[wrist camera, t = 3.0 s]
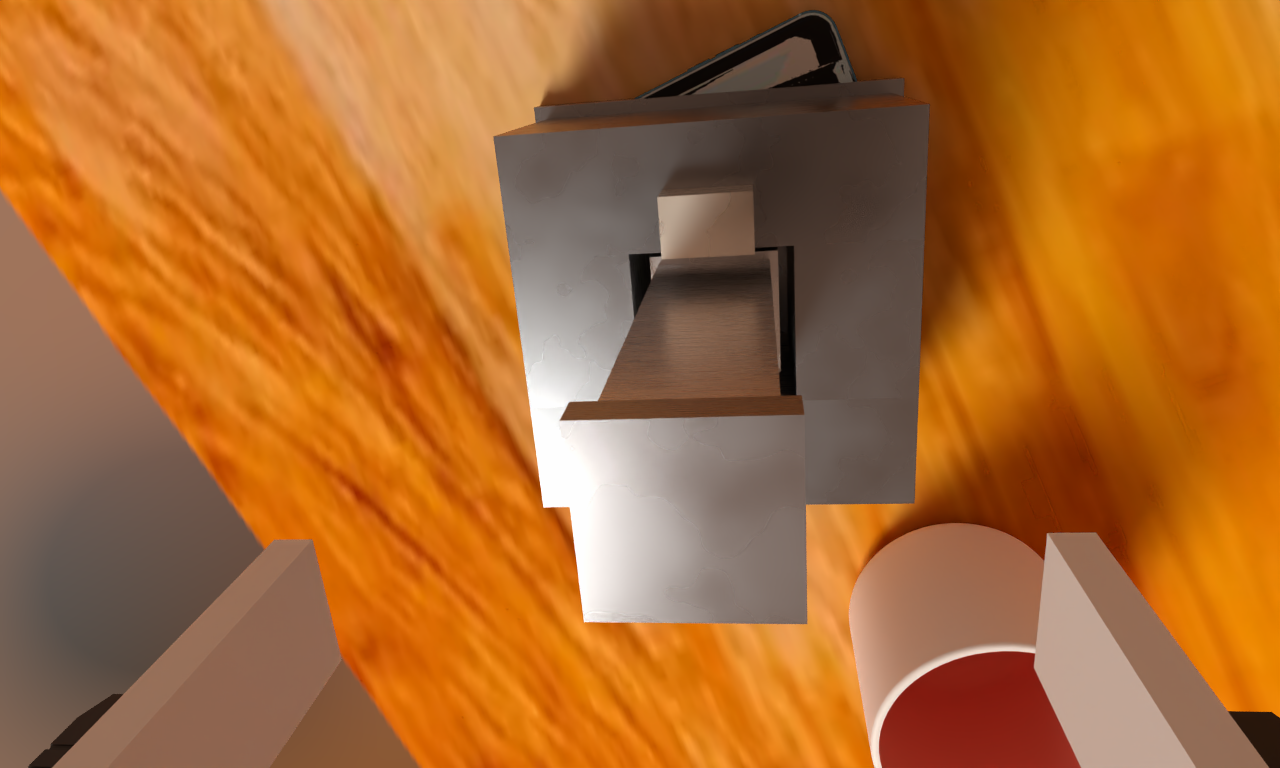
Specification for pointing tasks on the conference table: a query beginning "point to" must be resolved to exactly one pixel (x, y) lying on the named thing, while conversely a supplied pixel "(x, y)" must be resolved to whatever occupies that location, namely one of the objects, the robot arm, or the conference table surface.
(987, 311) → the conference table surface
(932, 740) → the cup
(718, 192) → the housing
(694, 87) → the smartphone
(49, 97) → the conference table surface
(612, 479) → the column
